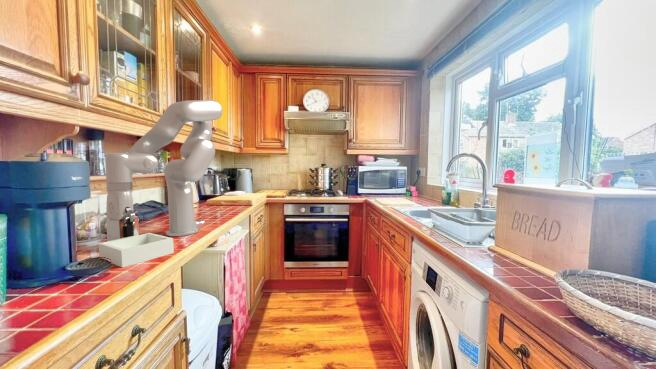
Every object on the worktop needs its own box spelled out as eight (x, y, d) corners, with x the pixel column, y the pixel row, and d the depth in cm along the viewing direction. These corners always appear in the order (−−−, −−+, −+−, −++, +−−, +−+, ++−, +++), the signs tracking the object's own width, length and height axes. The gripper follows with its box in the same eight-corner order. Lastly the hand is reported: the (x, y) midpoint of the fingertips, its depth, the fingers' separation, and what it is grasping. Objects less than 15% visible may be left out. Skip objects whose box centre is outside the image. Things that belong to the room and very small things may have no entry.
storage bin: (149, 246, 100) (149, 232, 100) (173, 252, 93) (173, 238, 92) (99, 258, 87) (98, 243, 87) (122, 267, 80) (121, 250, 79)
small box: (120, 250, 96) (118, 220, 95) (107, 249, 97) (105, 219, 96) (140, 243, 104) (138, 215, 103) (128, 242, 105) (126, 215, 104)
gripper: (96, 187, 100) (98, 234, 101) (119, 189, 91) (121, 240, 92) (120, 186, 106) (122, 230, 107) (143, 188, 98) (145, 235, 99)
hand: (121, 234), depth 100 cm, fingers open, 9 cm apart
